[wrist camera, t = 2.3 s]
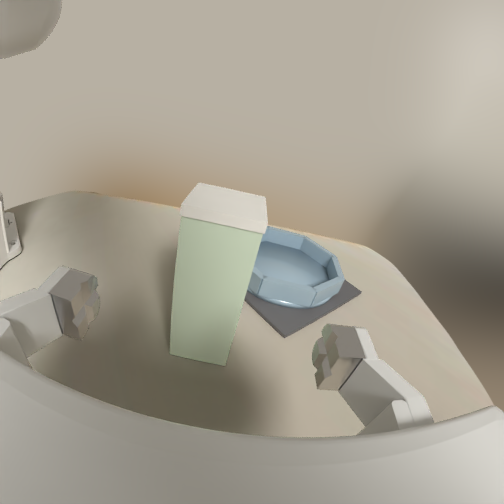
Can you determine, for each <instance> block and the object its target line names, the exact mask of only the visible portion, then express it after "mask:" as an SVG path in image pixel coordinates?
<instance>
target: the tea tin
mask: <svg viewBox="0 0 504 504" xmlns="http://www.w3.org/2000/svg"><path fill="white" fill-rule="evenodd" d="M180 216H181V223H180V230H179V238H178V247H177V256H176V265H175V276H174V287H173V299H172V314H171V331H170V354H171V355H175V356H180V357H184V358H188V359H193V360H197V361H202V362H207V363H212V364H217V365H222V366H225V365H226V362H227V358H228V355H229V351H230V348H231V344H232V341H233V338H234V334H235V331H236V327H237V324H238V320H239V317H240V313H241V310H242V306H243V303H244V299H245V296H246V292H247V289H248V285H249V282H250V278H251V275H252V271H253V267H254V264H255V260H256V257H257V253H258V250H259V246H260V243H261V239H262V236H263V234H265V231H266V228H267V224H268V220H267V208H266V198H265V197H263V196H259V195H254V194H250V193H245V192H241V191H237V190H232V189H227V188H223V187H218V186H213V185H209V184H203V183H198V184H197V185H196V187H195V188H194V189H193V190H192V191H191V193H190V194H189V195H188V196H187V198H186V199H185V200H184V201H183V203H182V204H181V209H180Z"/></svg>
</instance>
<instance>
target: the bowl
mask: <svg viewBox="0 0 504 504" xmlns="http://www.w3.org/2000/svg"><path fill="white" fill-rule="evenodd" d="M344 280H345V278H344V276H343V273H342V270H341V267H340V265H339V262H338V259H337V257H336V256H335V255H334V254H332V253H331V252H329V251H328V250H326V249H325V248H323V247H322V246H320V245H319V244H317V243H316V242H314V241H313V240H311V239H309V238H308V237H305V236H304V235H300V234H296V233H292V232H289V231H285V230H281V229H277V228H273V227H270V226H267V228H266V231H265V234H263V236H262V239H261V243H260V246H259V250H258V253H257V257H256V260H255V264H254V267H253V271H252V275H251V278H250V282H249V285H248V289H247V292H249V293H250V294H252V295H254V296H256V297H257V298H259V299H262V300H264V301H266V302H269V303H272V304H275V305H278V306H282V307H287V308H295V309H309V308H315V307H319V306H321V305H324V304H325V303H327V302H328V301H329V300H330V299H331V298H332V296H333V295H335V294H337V293H338V292H339V290H340V288H341V286H342V284H343V282H344Z"/></svg>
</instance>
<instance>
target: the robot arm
mask: <svg viewBox="0 0 504 504" xmlns="http://www.w3.org/2000/svg"><path fill="white" fill-rule="evenodd" d="M61 6H62V1H61V0H0V59H2V58H8V57H11V56H14V55H18V54H21V53H24V52H28V51H31V50H34V49H36V48H37V47H39V46H40V45H41V44H42V43H43V42H44V41H45V40H46V39H47V38H48V36H49V35H50V34H51V32H52V31H53V29H54V28H55V26H56V24H57V22H58V19H59V17H60V13H61V8H62V7H61ZM21 251H22V248H21V244H20V240H19V235H18V230H17V226H16V220H15V216H14V213H11V212H4V207H3V198H2V193H1V192H0V268H1V267H2V266H3V265H4V264H5V263H6V262H7V261H8V260H10V259H12V258H14V257H15V256H17V255H18V254H20V253H21ZM97 286H98V282H97V278H96V277H95V276H94V275H91V274H88V273H85V272H82V271H78V270H75V269H72V268H69V267H66V266H59V267H58V268H57V269H56V270H55V271H54V272H53V273H52V274H51V275H50V276H49V277H48V278H47V279H46V281H45V282H44V283H43V284H42V285H41V286H40V287H39V288H38V289H35V288H33V289H31V290H28V291H25V292H23V293H20V294H17V295H15V296H12V297H9V298H7V299H4V300H2V301H0V504H504V412H503V411H502V410H501V409H499V408H497V407H496V406H488V407H485V408H483V409H480V410H477V411H474V412H471V413H468V414H465V415H461V416H458V417H455V418H451V419H447V420H444V421H440V422H436V423H434V421H433V418H432V415H431V413H430V410H429V408H428V405H427V403H426V400H425V398H424V396H423V395H422V394H421V393H419V392H418V391H417V390H416V389H415V388H414V387H413V386H412V385H410V384H409V383H408V382H407V381H406V380H405V379H404V378H403V377H401V376H400V375H399V374H398V373H397V372H396V371H395V370H393V369H392V368H391V367H390V366H389V365H388V364H387V363H386V362H384V361H383V360H379V358H378V356H377V353H376V351H375V348H374V346H373V343H372V341H371V338H370V336H369V334H368V331H367V329H366V328H364V327H355V326H352V327H351V326H343V325H335V324H326V325H325V326H324V328H323V330H322V336H323V337H321V338H320V339H318V340H317V341H316V343H315V345H314V348H313V352H312V362H313V365H314V367H315V368H316V369H317V372H316V373H315V379H316V385H317V389H320V390H335V391H338V392H339V393H340V395H341V396H342V397H343V398H344V400H345V401H346V402H347V404H348V405H349V406H350V408H351V409H352V410H353V411H354V413H355V414H356V415H357V417H358V418H359V419H360V420H361V422H362V423H363V424H364V426H365V428H364V429H363V430H361V431H360V432H359V433H358V434H357V435H354V436H340V437H275V436H260V435H249V434H240V433H232V432H224V431H217V430H211V429H205V428H200V427H194V426H189V425H184V424H180V423H175V422H171V421H167V420H163V419H159V418H155V417H151V416H147V415H144V414H140V413H137V412H134V411H130V410H127V409H124V408H121V407H118V406H115V405H112V404H109V403H107V402H104V401H101V400H98V399H96V398H93V397H91V396H88V395H86V394H83V393H81V392H78V391H76V390H74V389H72V388H69V387H67V386H65V385H63V384H61V383H58V382H56V381H54V380H52V379H50V378H48V377H46V376H44V375H42V374H40V373H38V372H37V371H35V370H33V369H32V367H31V365H30V363H29V361H28V359H27V358H28V357H29V356H31V355H32V354H34V353H35V352H37V351H38V350H40V349H42V348H43V347H45V346H46V345H48V344H49V343H51V342H53V341H54V340H56V339H57V338H59V337H61V336H62V334H64V335H66V336H69V337H72V338H75V339H77V340H80V341H82V339H83V337H84V336H85V334H86V332H87V331H88V329H89V325H88V323H89V322H91V321H93V320H95V318H96V316H97V315H98V311H99V308H100V297H99V294H98V293H97V292H96V290H95V289H96V288H97Z"/></svg>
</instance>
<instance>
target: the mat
mask: <svg viewBox="0 0 504 504" xmlns="http://www.w3.org/2000/svg"><path fill="white" fill-rule="evenodd" d="M359 294H361V291H360V290H358V289H357V288H356V287H354V286H353V285H352V284H350V283H349V282H347V281H346V280H344V282H343V284H342V286H341V288H340V290H339V292H338V293H337V294H335V295H333V296H332V298H331V299H330V300H329V301H328V302H327V303H325V304H324V305H321V306H319V307H315V308H309V309H295V308H287V307H282V306H278V305H275V304H272V303H269V302H266V301H264V300H262V299H259V298H257V297H256V296H254V295H252V294H250V293H249V292H246V296H245V299H244V300H245V301H246V302H247V303H248V304H249V305H250V306H251V307H252V308H253V309H254V310H255V311H256V312H257V313H258V314H259V315H260V316H261V317H263V318H264V319H265V320H266V321H267V322H268V323H269V324H270V325H271V326H272V327H273V328H274V329H275V330H276V331H277V332H278V333H279V334H280V335H282V336H283V337H284V338H285V337H287V336H289V335H291V334H293V333H295V332H296V331H298V330H300V329H302V328H304V327H306V326H307V325H309V324H311V323H313V322H314V321H316V320H318V319H320V318H321V317H323V316H325V315H327V314H328V313H330V312H332V311H333V310H335V309H337V308H338V307H340V306H342V305H343V304H345V303H347V302H348V301H350V300H351V299H353V298H355V297H356V296H358V295H359Z"/></svg>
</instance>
